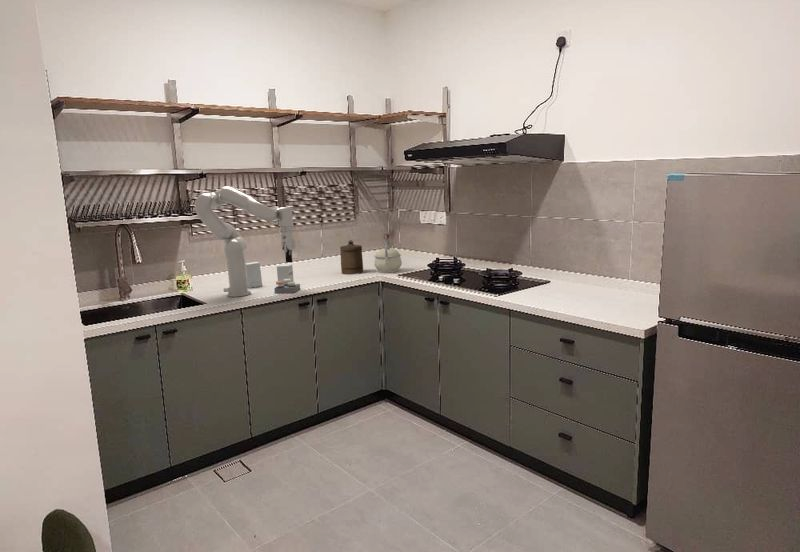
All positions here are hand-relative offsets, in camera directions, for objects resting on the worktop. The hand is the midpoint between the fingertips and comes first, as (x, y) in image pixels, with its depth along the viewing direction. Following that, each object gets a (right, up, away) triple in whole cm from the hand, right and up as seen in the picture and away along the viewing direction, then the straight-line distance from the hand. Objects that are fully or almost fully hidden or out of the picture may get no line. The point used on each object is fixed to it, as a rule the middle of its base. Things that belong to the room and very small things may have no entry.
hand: (289, 262), depth 294 cm
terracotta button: (-5, -12, +1) cm, 14 cm away
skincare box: (-27, -15, +26) cm, 40 cm away
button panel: (-2, -17, +4) cm, 17 cm away
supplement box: (-7, -14, +23) cm, 28 cm away
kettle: (+54, -5, +58) cm, 80 cm away
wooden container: (+30, -6, +63) cm, 70 cm away
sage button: (+1, -13, +2) cm, 13 cm away
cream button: (-3, -11, +7) cm, 14 cm away
